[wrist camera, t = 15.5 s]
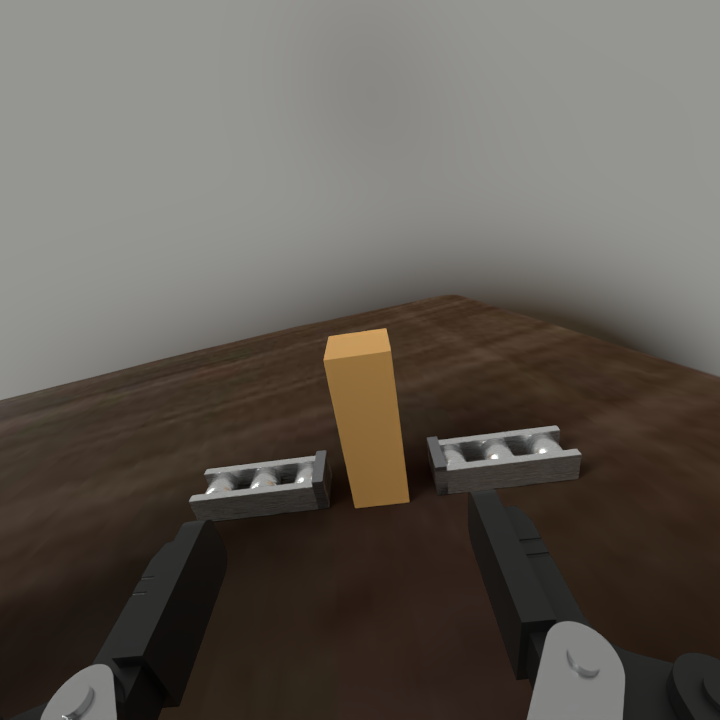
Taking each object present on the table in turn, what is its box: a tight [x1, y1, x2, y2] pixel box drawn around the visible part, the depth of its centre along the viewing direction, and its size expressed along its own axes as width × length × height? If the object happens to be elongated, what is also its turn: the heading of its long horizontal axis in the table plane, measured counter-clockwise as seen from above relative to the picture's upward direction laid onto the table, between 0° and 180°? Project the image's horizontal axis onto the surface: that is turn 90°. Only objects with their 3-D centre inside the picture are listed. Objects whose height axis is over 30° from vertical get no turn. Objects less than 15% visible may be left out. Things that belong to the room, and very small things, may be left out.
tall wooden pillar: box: [323, 328, 410, 508], centre depth 25 cm, size 4×5×12 cm
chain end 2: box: [427, 426, 582, 495], centre depth 26 cm, size 10×3×3 cm, turn 90°
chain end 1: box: [189, 450, 332, 521], centre depth 27 cm, size 10×3×3 cm, turn 90°
